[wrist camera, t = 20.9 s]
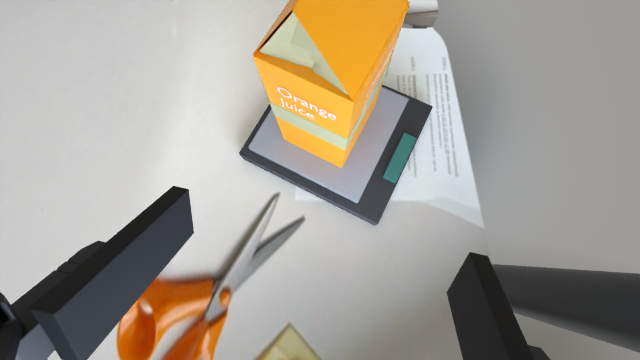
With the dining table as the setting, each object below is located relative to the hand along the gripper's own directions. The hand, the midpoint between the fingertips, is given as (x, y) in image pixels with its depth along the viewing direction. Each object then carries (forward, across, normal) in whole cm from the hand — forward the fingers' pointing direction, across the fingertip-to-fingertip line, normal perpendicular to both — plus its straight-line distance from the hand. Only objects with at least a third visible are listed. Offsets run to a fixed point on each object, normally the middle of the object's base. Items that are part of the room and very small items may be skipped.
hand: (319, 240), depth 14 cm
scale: (+24, -2, -4) cm, 24 cm away
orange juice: (+22, -2, -2) cm, 22 cm away
